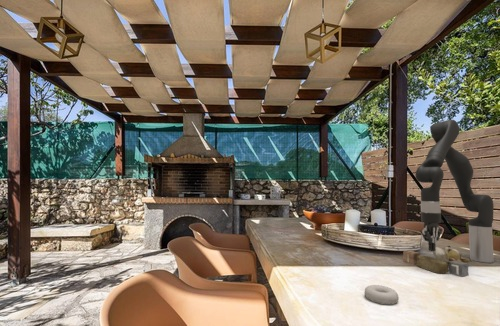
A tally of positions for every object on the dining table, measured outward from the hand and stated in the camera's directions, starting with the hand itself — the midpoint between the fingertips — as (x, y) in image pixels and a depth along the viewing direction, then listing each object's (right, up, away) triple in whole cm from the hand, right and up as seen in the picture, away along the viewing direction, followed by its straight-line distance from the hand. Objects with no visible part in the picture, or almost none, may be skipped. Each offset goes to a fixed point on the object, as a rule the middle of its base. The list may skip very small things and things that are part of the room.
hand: (432, 250), depth 122 cm
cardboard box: (-3, -9, +11) cm, 14 cm away
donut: (-39, -5, -33) cm, 51 cm away
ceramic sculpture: (+16, -10, +11) cm, 22 cm away
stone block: (0, -9, 0) cm, 9 cm away
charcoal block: (+7, -8, -6) cm, 12 cm away
